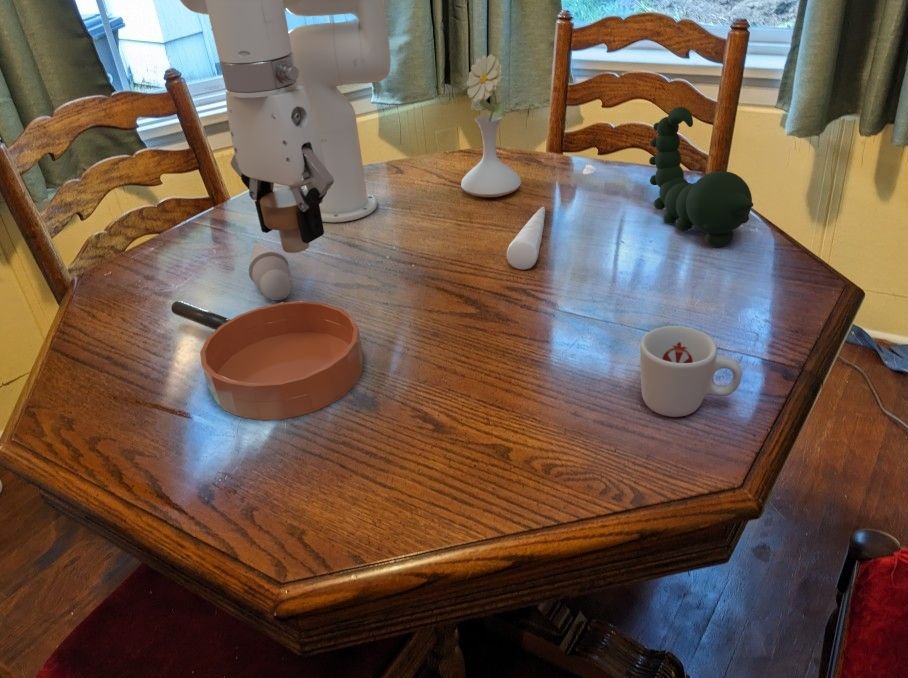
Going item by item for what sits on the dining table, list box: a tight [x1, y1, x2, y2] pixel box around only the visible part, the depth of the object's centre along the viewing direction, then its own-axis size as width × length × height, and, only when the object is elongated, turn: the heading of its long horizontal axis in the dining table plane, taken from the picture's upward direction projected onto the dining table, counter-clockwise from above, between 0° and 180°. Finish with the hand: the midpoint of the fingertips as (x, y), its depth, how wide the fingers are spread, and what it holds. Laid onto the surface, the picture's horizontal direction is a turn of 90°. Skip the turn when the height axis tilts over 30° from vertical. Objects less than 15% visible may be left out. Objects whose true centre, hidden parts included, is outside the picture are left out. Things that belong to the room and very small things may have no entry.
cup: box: [639, 325, 742, 418], centre depth 80 cm, size 11×8×8 cm
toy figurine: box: [648, 106, 754, 247], centre depth 114 cm, size 9×19×25 cm
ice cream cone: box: [248, 240, 293, 301], centre depth 111 cm, size 6×6×15 cm
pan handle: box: [170, 300, 232, 331], centre depth 98 cm, size 12×2×2 cm, turn 55°
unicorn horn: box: [506, 205, 546, 271], centre depth 119 cm, size 5×24×5 cm, turn 163°
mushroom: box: [260, 188, 310, 254], centre depth 86 cm, size 6×6×6 cm
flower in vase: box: [460, 53, 522, 198], centre depth 131 cm, size 13×11×25 cm
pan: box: [199, 300, 364, 421], centre depth 92 cm, size 19×19×5 cm
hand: (292, 232), depth 87 cm, fingers closed on mushroom, 6 cm apart
